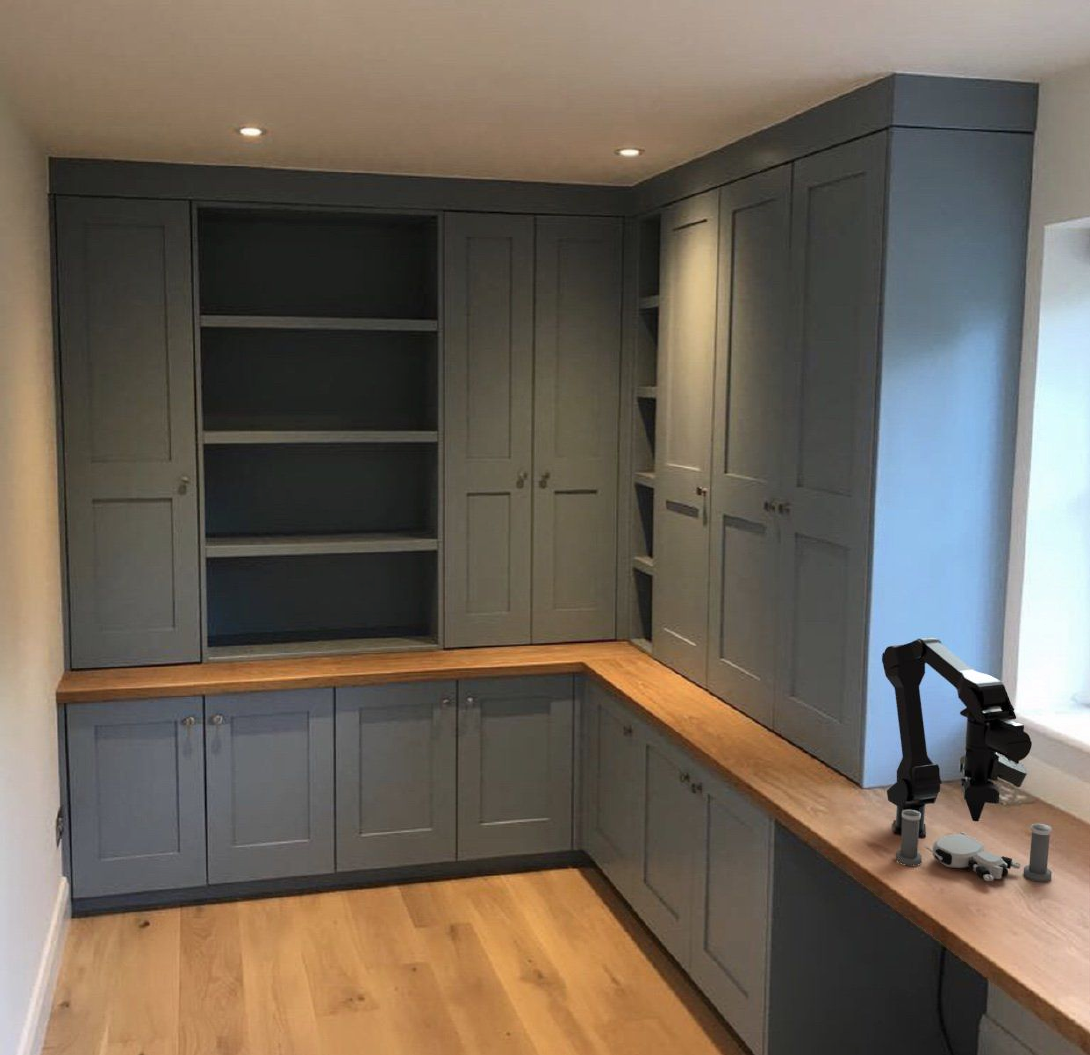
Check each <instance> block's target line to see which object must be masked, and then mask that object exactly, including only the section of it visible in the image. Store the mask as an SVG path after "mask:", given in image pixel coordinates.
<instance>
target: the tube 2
mask: <svg viewBox="0 0 1090 1055" xmlns="http://www.w3.org/2000/svg"><path fill="white" fill-rule="evenodd" d="M1030 830H1031V837H1030V839H1031V840H1030V851H1029V852H1030V854H1029V865H1025V866H1024V867H1023V876H1024V877H1025V878H1026V879H1027V880H1030V881H1032V882H1037V883H1048V882H1050V881H1052V870H1050V869H1049V868H1048V860H1049V849H1050V848H1049V847H1050V837H1051V834H1052V827H1051V826H1050V825H1046V824H1043V823H1034V824H1033V823H1032V824H1031V826H1030Z"/></svg>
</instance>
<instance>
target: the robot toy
mask: <svg viewBox="0 0 1090 1055" xmlns="http://www.w3.org/2000/svg"><path fill="white" fill-rule="evenodd" d="M959 832H960V834H959V833H953V834H948V835H944V836H942V837H940V838H938V839H937V840H935V841H934V843H933V844H932V845H933V846H932V849H931V848H930V847H929V846H928V845H924V847H925V850H928V851H929V852H930V853H932V856H933V857H934V859H935V860H936V861H938V862H940V863H941V864H942V865H944V866H945V867H947V868H957V869H963V868H968V867H969V868H970V869H972V871H974V872H975V874H976V876H977V877H978V878H980V880H983V881H986V882H990V881H991V882H993V881H994V880H995V879H996V880H998V879H999V880H1001V879H1002V878H1005V877H1007V876H1008V874H1009V870H1011V868H1013V869H1017V870H1019V869H1020V868H1021V863H1020V862H1019V861H1013V858H1011V857H1007V856H1000V855H998V854H995V853H994V852H990V851H988V850H985V845H983V843H982V842H981V841H980V840H977V839H975V838H973V837H971V836H968V835H967V834H966V833H965V832H963V831H959ZM1008 869H1009V870H1008Z"/></svg>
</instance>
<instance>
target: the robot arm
mask: <svg viewBox="0 0 1090 1055" xmlns="http://www.w3.org/2000/svg"><path fill="white" fill-rule="evenodd" d="M881 663H882V667H883V670H884V674H885V677H886V678H887V680H888V681H889V682H890V684H891V686H892V687H893V689H894V694H895V702H896V710H897V711H896V712H897V719H898V728H899V737H900V744H901V745H900V746H901V753H902V756H901V759H900V762H899V765H898V767H897V770H896V782H894V784H893V785H891V786H890V787H889V788H888V789H887V790H886V796H887V801H888V802H890V803H891V804H893V805H895V806H896V813H895V816H896V817H895V819H893V821H892V822H893V823H892V824H893V834H895V835H897V834H898V835H902V820H903V817H902V811H903V810H915V811H918V812H920V813H921V819H920V820H919V835H918V837H919V838H920V837H921V838H926V837H927V831H926V830H927V829H926V828H927V827H926V823H925V816H926V815H925V813H926V805H928V804H935V803H936V800H937V799H938V795H939V793H940V792H941V785H942V779H941V774H940V772H941V771H940V766H939V764H937V763H935V764H934V763H933V761H932V760H931V759H930V758H929V755H928V752H927V750H928V749H927V740H926V733H925V726H924V716H923V710H922V709H923V708H922V701H921V700H922V699H921V698H922V697H921V692H920V685H921V683H922V681H923V679H924V676H925V674H926V664H927V665H928V666H929V667H931V669H933V670H934V671H935V672H936V673H938V674H939V675H940V676H941V677H942V678H943V679H944V680H946V681H947V682H948V683H950V684H951V685H952V686H953V687H954V688H955V689H956V691H957V696H958V699H959V700H960V701H961V703H962V704H964V706H965V708H964V709H962V710H961V711H960V712H959V715H960V716H961V717H964V718H967V719H966V729H965V730H966V733H965V742H964V744H963V749H964V755H963V756H961V757H960V758H959V761H958V771H959V773H962V774H963V777H965V778H961V779H960V783H961V790H962V795H963V800H964V801H965V802H966V805H967V807H968V810H969V813H970V816H971V817H970V818H971V820H972V821H973V822H979V820H980V818H981V816H982V813H983V809H984V807H985V805H986V804H985V803H987V804H996V805H997V804H999V803H1000V795H1001V794H1000V790H999V789H1000V788H999V787H998V785H996V783H995V782H998V779H1001V780H1002V781H1005V782H1007V783H1009V784H1011V785H1013V787H1016V788H1021V787H1022V785H1023V782H1024V780H1025V779H1026V777H1027V775H1028V771H1027V768H1026V766H1024V764H1023V763H1020V761H1022V760H1024V759H1025V758H1026V757H1028V755H1029V753H1030V752H1031V750H1032V744H1033V742H1032V741H1031V740H1032V739H1031V737H1030V735H1029V734H1028V733H1027V732H1026V731H1025V725H1024V724H1022V723H1020V722H1015V721H1013V720H1016V719H1017V715H1016V713H1015V708H1014V706H1013V704H1012V703H1011V700H1010V697H1009V694H1008V691H1007V689H1006V686H1005V684H1004V683H1003V682H1002V681H1001V680H1000V679H997V678H996V677H993V676H991V675H990V674H988V673H983V672H979V671H976V670H975V669H973V668H972V667H971V666H969V665H968V664H967V663H965V662H964V660H962V659H961V658H959V657H958V656H957V655H955V654H954V653H953V652H952V651H950V649H949V648H947V647H945V645H944V644H942V641H941V640H940V639H939V638H936V637H924V638H917V639H915V640H913V641H911V642H907V643H905V644H899V645H890V646H887V647H886V648H885V649H884V651H883V652H882V654H881ZM999 709H1000V710H999ZM994 710H997V711H994ZM986 711H988V712H986ZM989 711H990V712H989ZM1001 755H1002V756H1001ZM994 781H995V782H994Z"/></svg>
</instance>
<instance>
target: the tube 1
mask: <svg viewBox="0 0 1090 1055" xmlns="http://www.w3.org/2000/svg"><path fill="white" fill-rule="evenodd" d="M902 817H903V820H902V834H901V838H900V849H899V850H898V851H896V852H895V858H894V860H895V859H896V860H895V862H896V861H898V862H899V863H902V864H905V865H912V866H911V867H914V866H913V865H918V864H920V863H921V864H922V861H923V856H922V854H920V853H919V852H918V848H919V847H918V846H919V836H918V835H919V820H920V819H921V813H920V812H918V811H915V810H903V811H902ZM899 863H898V864H899ZM905 865H904V866H905Z"/></svg>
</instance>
